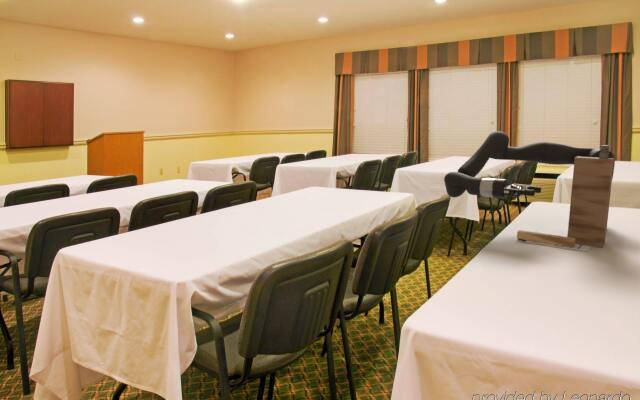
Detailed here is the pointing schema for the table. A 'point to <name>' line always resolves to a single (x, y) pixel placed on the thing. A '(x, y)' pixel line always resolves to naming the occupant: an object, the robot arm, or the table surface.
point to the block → (546, 238)
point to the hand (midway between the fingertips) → (537, 191)
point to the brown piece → (591, 198)
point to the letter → (576, 247)
